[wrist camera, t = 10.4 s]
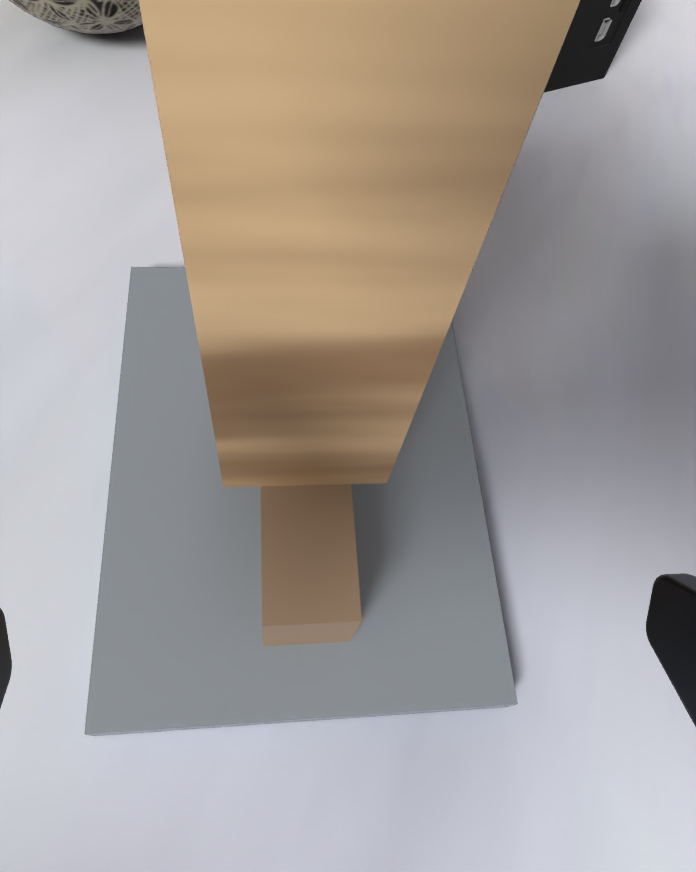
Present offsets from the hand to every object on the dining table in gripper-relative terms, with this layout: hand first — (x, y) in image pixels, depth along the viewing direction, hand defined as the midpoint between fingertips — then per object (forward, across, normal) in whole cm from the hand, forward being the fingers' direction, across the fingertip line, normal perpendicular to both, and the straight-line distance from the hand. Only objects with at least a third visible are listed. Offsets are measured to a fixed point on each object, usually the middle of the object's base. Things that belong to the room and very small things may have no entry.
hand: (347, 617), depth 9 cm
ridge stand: (+14, 0, +3) cm, 14 cm away
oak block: (+11, 0, 0) cm, 11 cm away
